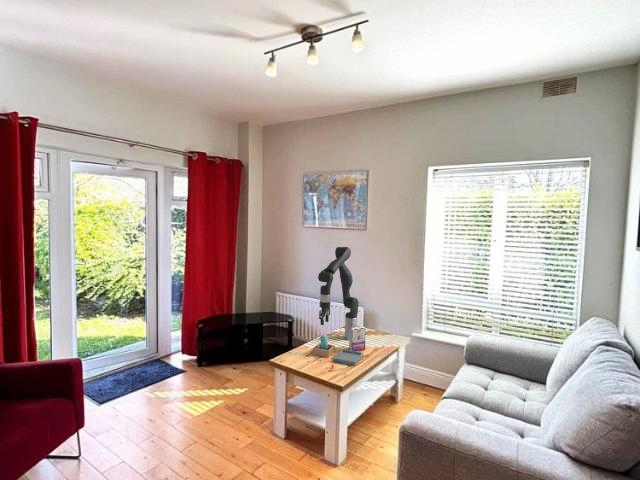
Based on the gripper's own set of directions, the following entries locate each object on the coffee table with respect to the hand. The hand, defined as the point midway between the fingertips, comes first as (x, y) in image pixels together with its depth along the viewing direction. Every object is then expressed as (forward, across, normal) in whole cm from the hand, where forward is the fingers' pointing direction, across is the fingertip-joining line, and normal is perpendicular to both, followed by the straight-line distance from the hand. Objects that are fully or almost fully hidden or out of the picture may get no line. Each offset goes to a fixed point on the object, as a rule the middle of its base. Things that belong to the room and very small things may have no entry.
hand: (324, 323), depth 240 cm
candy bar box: (+21, -17, +19) cm, 33 cm away
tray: (+21, +2, +19) cm, 29 cm away
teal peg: (+21, 0, 0) cm, 21 cm away
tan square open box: (+21, 0, 0) cm, 21 cm away
